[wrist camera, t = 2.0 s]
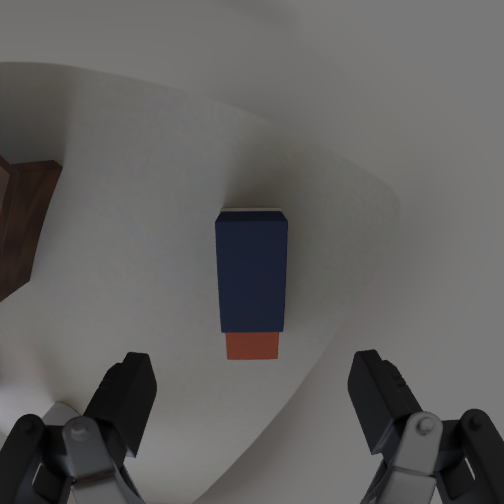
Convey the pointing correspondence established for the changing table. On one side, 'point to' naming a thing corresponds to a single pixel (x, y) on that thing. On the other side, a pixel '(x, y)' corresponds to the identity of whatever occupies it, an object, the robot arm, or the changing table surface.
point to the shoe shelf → (22, 217)
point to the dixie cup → (59, 414)
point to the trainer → (251, 280)
